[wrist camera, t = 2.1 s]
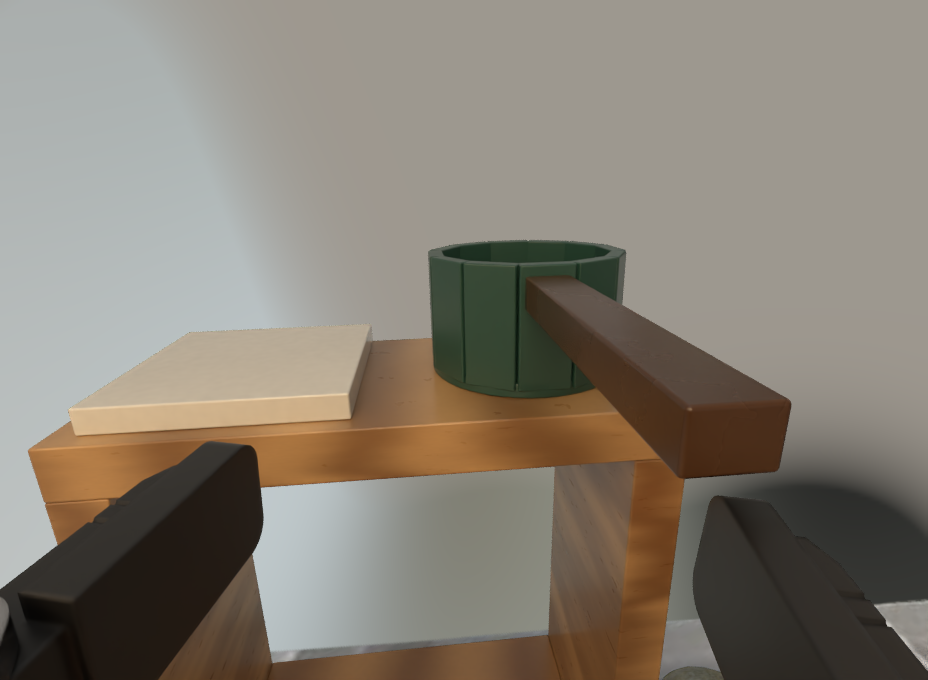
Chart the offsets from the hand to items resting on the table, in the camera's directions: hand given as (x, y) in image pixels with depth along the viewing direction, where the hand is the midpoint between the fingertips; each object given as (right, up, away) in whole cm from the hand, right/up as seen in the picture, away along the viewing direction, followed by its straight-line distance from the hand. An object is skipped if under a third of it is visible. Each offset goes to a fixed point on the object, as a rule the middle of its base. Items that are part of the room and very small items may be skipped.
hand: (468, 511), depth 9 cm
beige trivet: (-9, +1, +12) cm, 15 cm away
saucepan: (+3, 0, +8) cm, 9 cm away
